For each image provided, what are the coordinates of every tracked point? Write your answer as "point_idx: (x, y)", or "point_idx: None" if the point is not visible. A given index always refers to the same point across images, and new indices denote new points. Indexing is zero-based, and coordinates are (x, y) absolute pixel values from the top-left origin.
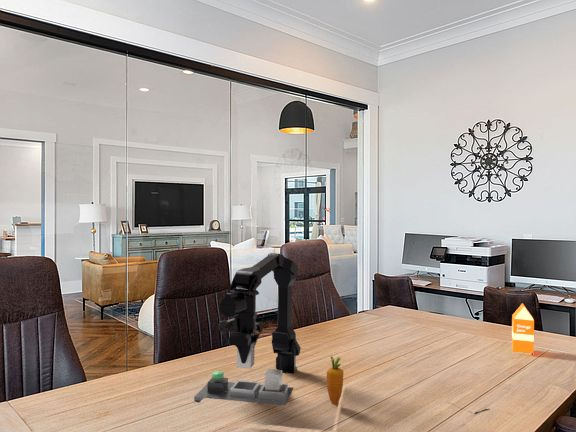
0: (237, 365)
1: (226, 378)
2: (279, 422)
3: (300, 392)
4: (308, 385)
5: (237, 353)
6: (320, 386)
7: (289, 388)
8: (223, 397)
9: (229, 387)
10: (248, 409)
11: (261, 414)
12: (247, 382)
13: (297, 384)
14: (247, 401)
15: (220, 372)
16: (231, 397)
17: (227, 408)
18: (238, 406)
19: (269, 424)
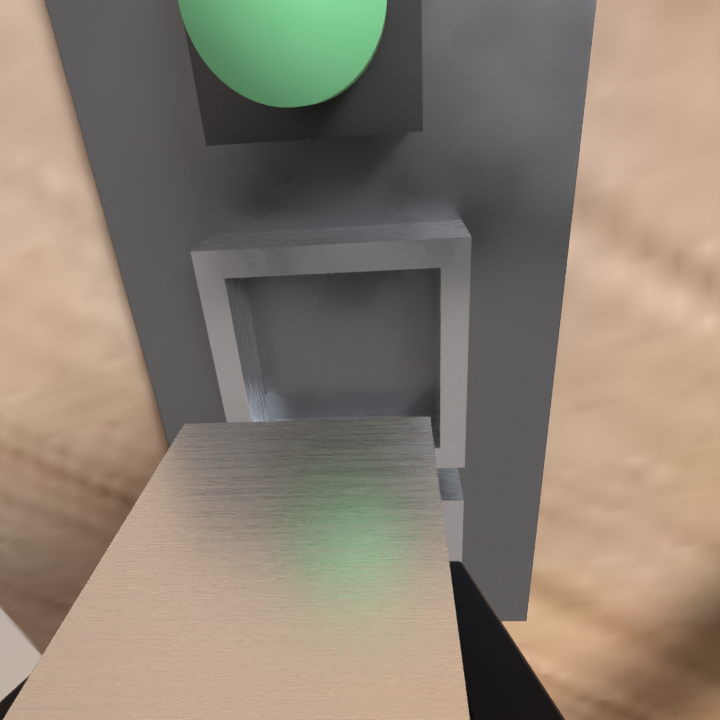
0: (172, 457)
1: (398, 117)
2: (54, 602)
3: (510, 629)
4: (644, 651)
5: (50, 662)
6: (631, 700)
7: (504, 603)
8: (143, 189)
9: (416, 145)
10: (119, 420)
11: (93, 508)
12: (440, 358)
13: (660, 599)
14: (164, 413)
15: (322, 28)
16: (178, 265)
17: (53, 273)
18: (130, 341)
19: (2, 568)
